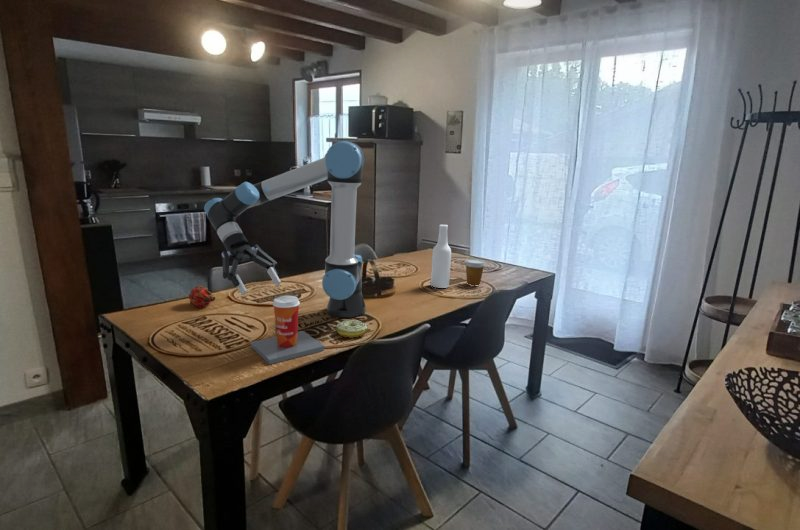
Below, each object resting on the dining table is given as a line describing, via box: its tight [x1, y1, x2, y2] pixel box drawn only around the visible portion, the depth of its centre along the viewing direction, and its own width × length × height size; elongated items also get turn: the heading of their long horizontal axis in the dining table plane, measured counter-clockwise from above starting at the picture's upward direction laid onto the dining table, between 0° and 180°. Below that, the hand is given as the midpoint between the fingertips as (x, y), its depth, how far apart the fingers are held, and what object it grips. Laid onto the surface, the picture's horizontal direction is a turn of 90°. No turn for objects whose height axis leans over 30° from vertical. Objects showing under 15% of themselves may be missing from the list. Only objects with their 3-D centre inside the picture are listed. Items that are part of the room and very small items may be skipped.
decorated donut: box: [335, 319, 368, 339], centre depth 158 cm, size 10×11×4 cm
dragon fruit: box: [188, 285, 216, 309], centre depth 178 cm, size 8×8×12 cm
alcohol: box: [430, 224, 452, 289], centre depth 215 cm, size 9×9×30 cm
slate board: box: [250, 330, 325, 365], centre depth 144 cm, size 18×15×2 cm
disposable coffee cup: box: [464, 258, 486, 285], centre depth 223 cm, size 10×10×12 cm
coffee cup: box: [272, 295, 301, 348], centre depth 142 cm, size 8×8×15 cm
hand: (262, 288), depth 152 cm, fingers open, 13 cm apart
